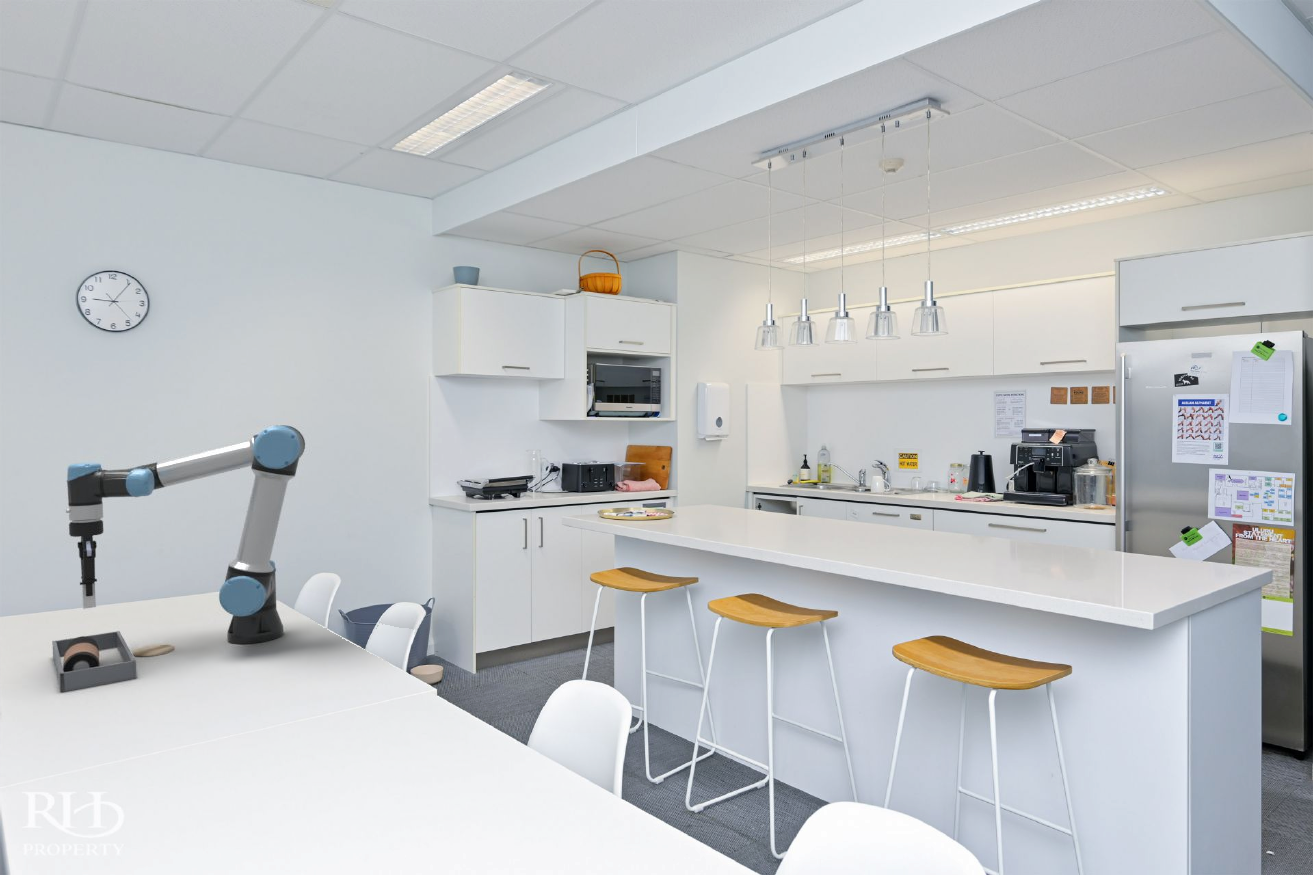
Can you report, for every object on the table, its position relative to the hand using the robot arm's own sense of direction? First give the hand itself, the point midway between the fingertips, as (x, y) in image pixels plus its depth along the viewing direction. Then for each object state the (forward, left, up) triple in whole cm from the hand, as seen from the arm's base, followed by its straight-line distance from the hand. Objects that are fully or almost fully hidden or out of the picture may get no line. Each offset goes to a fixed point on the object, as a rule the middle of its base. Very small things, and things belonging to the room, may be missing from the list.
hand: (89, 607), depth 218 cm
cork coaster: (-10, -11, -15) cm, 21 cm away
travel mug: (+3, 0, -12) cm, 12 cm away
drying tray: (-3, +3, -15) cm, 16 cm away
